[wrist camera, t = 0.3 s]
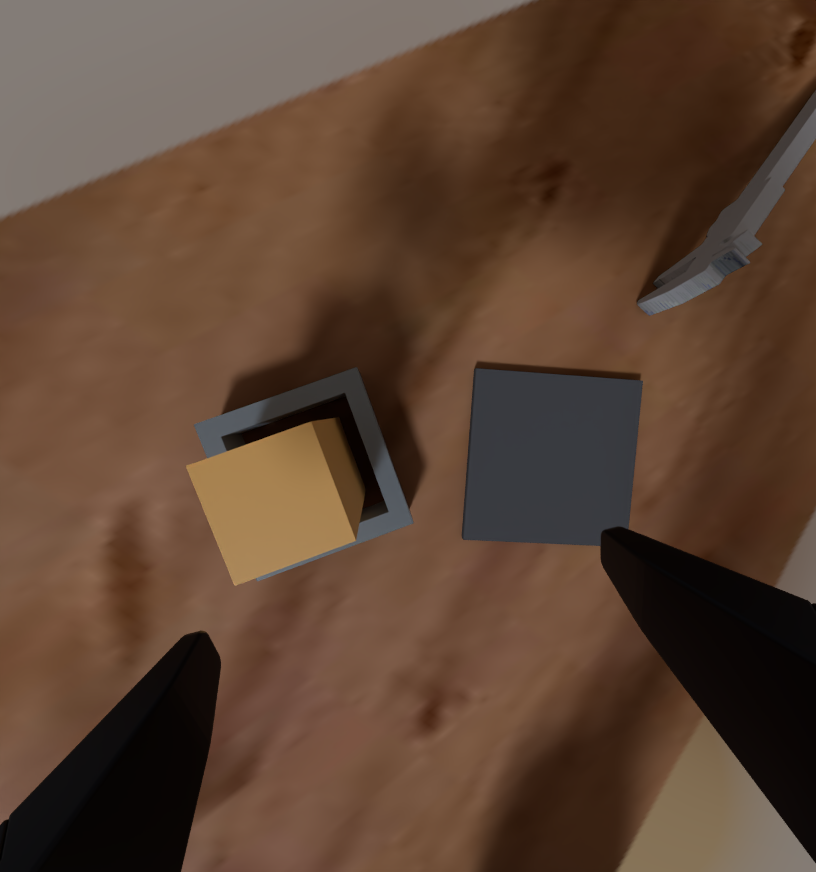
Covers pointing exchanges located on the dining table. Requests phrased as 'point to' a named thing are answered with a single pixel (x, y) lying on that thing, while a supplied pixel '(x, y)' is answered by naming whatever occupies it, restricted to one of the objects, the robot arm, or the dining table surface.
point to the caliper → (735, 222)
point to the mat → (549, 457)
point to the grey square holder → (230, 426)
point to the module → (281, 498)
